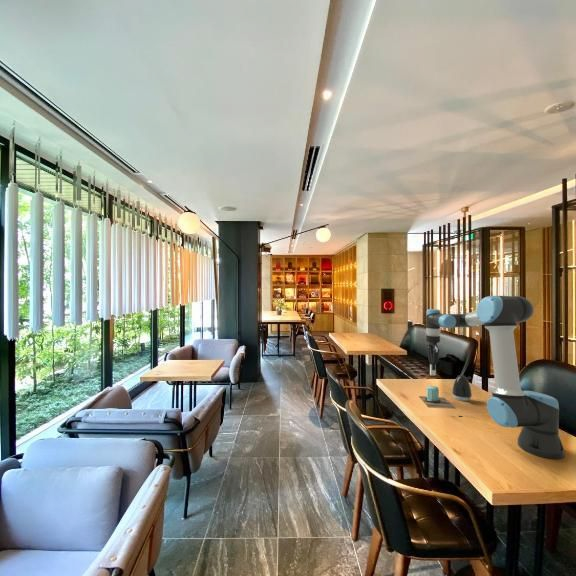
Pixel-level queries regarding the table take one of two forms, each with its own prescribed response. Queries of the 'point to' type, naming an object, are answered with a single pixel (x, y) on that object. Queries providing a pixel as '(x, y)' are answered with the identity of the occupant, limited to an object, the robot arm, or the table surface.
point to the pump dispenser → (462, 388)
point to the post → (432, 401)
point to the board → (442, 404)
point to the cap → (432, 393)
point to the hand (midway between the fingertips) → (432, 375)
